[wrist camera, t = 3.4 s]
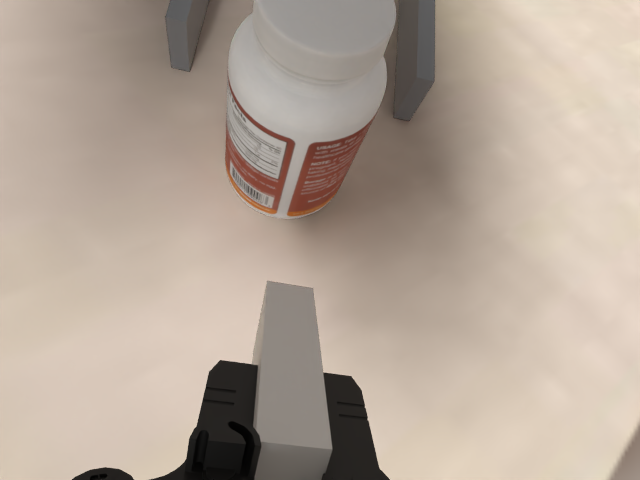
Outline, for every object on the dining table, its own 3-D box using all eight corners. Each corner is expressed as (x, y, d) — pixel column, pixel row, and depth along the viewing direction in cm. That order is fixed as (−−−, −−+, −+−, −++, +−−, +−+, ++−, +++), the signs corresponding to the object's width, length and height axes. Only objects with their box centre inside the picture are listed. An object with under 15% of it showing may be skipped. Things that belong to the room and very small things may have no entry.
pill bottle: (339, 129, 27) (415, -51, 17) (339, 228, 24) (427, 88, 14) (229, 114, 26) (239, -89, 15) (218, 216, 23) (221, 55, 13)
